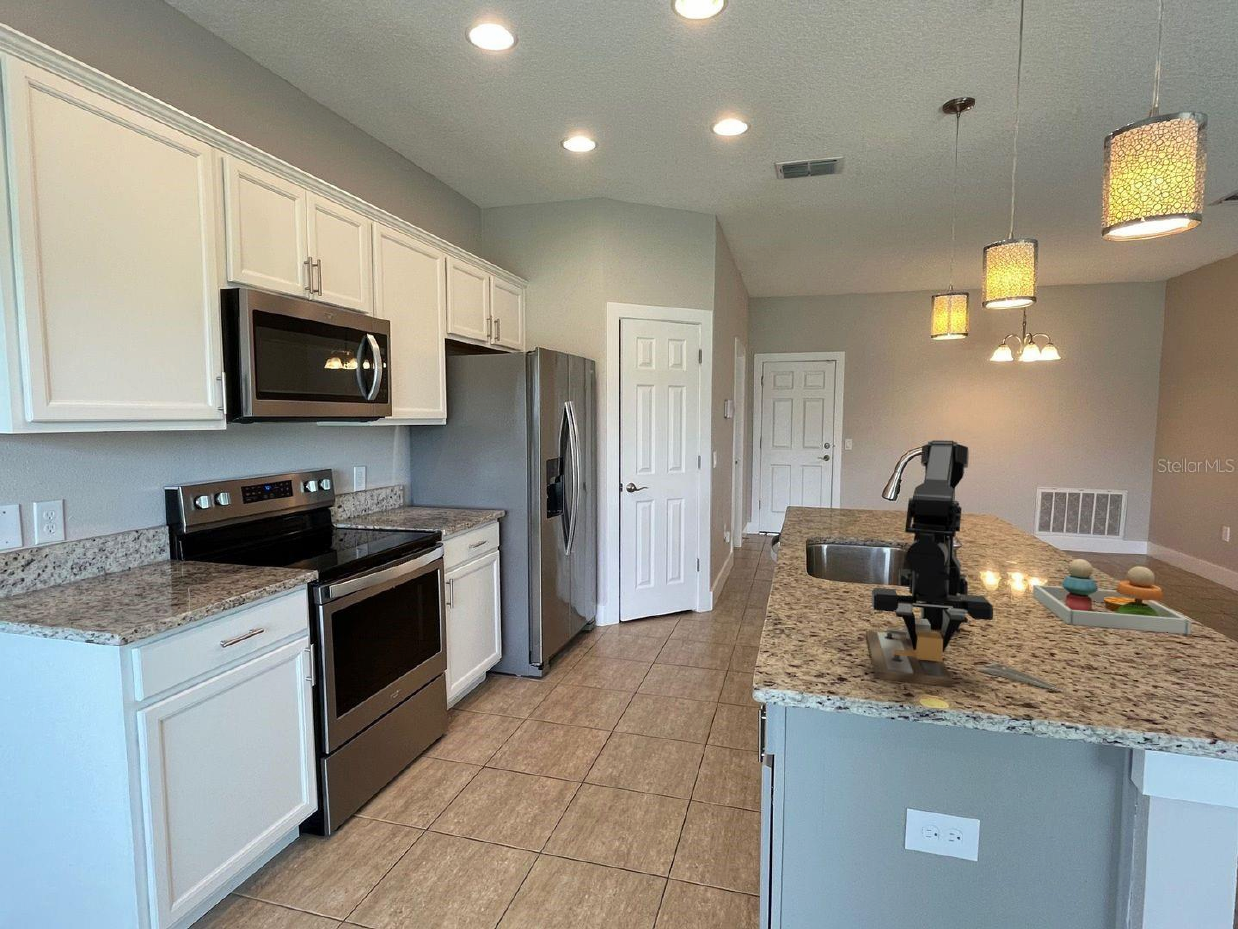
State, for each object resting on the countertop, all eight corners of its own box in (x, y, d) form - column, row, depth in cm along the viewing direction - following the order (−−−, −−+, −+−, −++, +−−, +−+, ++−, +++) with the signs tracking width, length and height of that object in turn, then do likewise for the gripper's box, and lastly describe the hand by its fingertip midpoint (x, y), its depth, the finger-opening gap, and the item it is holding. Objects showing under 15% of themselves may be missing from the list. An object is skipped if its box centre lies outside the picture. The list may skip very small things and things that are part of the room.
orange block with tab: (937, 658, 112) (938, 631, 111) (942, 666, 108) (943, 639, 107) (892, 653, 114) (893, 627, 114) (895, 661, 110) (896, 634, 110)
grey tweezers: (975, 674, 111) (977, 663, 110) (987, 668, 114) (988, 657, 113) (1093, 717, 97) (1095, 705, 97) (1103, 709, 100) (1105, 697, 100)
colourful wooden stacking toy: (1149, 609, 148) (1152, 557, 147) (1164, 629, 134) (1168, 572, 133) (1057, 598, 158) (1060, 549, 157) (1062, 615, 143) (1064, 562, 142)
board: (930, 643, 125) (930, 616, 124) (953, 687, 104) (954, 655, 103) (865, 636, 128) (866, 611, 128) (875, 678, 107) (876, 647, 107)
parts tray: (1136, 604, 152) (1137, 592, 152) (1190, 634, 130) (1191, 620, 130) (1032, 596, 159) (1033, 584, 158) (1067, 624, 137) (1068, 610, 136)
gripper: (979, 558, 114) (975, 641, 115) (870, 551, 120) (867, 630, 121) (995, 571, 103) (992, 663, 104) (875, 564, 109) (872, 650, 110)
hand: (927, 650), depth 110 cm, fingers closed on orange block with tab, 4 cm apart
